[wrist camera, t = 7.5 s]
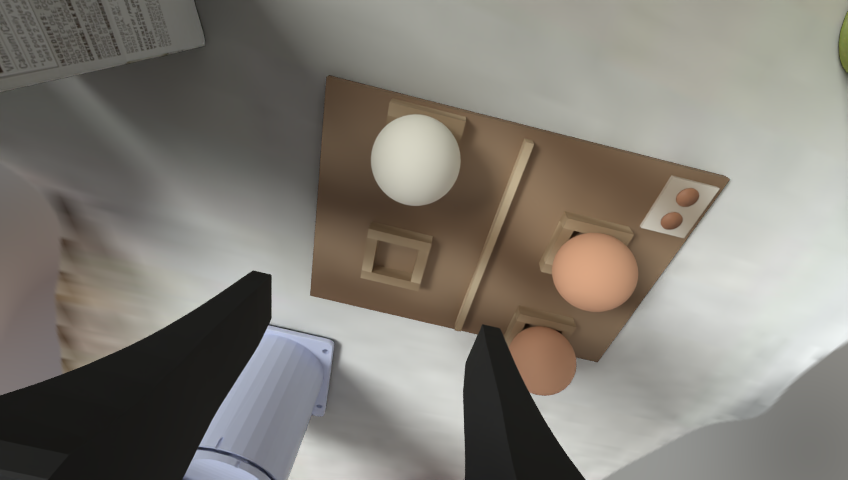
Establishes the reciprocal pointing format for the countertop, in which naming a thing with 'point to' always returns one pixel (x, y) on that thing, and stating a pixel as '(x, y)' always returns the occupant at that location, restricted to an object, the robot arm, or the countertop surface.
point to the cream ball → (415, 160)
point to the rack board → (490, 220)
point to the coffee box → (89, 36)
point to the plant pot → (844, 44)
